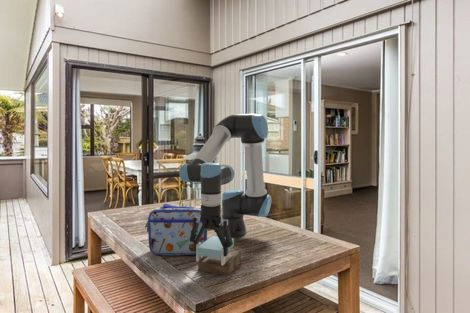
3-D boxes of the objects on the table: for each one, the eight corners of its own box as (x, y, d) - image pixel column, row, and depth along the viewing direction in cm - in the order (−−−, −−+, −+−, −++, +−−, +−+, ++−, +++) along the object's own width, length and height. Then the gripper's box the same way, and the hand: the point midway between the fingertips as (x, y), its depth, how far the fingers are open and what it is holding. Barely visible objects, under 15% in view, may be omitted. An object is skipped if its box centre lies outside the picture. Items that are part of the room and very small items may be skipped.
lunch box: (143, 257, 140) (143, 207, 139) (149, 248, 151) (148, 202, 149) (206, 257, 141) (207, 207, 140) (208, 248, 152) (208, 202, 150)
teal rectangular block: (212, 242, 136) (212, 235, 135) (234, 245, 132) (234, 238, 132) (197, 254, 122) (197, 247, 122) (220, 258, 119) (220, 250, 119)
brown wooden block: (213, 257, 141) (213, 246, 140) (241, 262, 136) (241, 250, 136) (198, 270, 128) (198, 257, 127) (228, 275, 123) (228, 262, 123)
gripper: (179, 203, 122) (180, 261, 123) (234, 209, 114) (234, 270, 115) (189, 199, 129) (189, 254, 130) (242, 204, 121) (241, 262, 122)
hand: (210, 261), depth 123 cm, fingers closed on teal rectangular block, 10 cm apart
